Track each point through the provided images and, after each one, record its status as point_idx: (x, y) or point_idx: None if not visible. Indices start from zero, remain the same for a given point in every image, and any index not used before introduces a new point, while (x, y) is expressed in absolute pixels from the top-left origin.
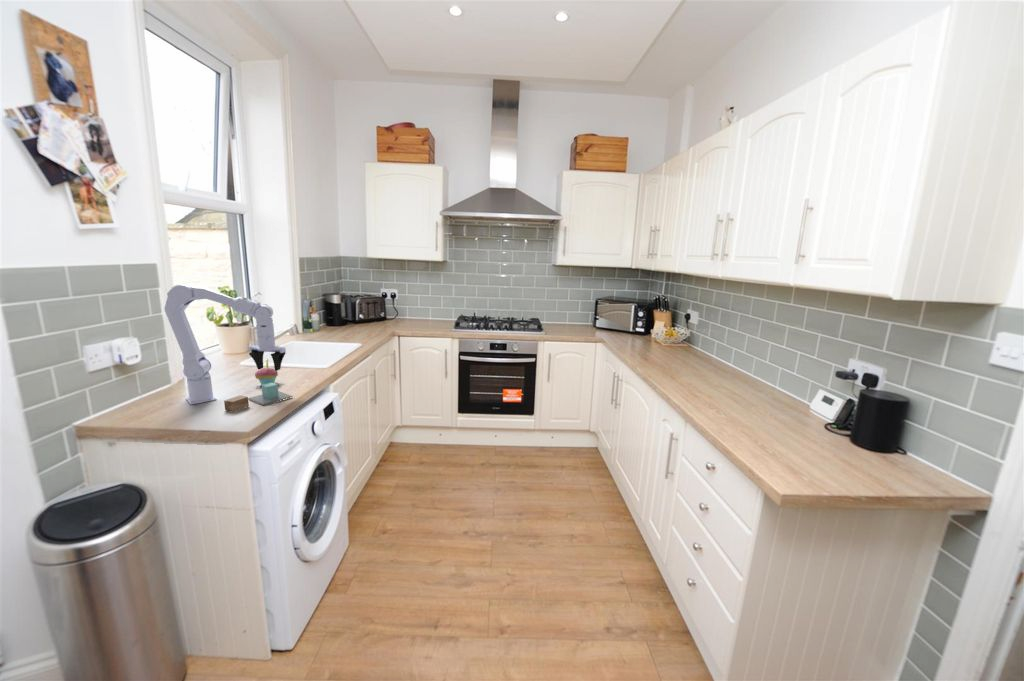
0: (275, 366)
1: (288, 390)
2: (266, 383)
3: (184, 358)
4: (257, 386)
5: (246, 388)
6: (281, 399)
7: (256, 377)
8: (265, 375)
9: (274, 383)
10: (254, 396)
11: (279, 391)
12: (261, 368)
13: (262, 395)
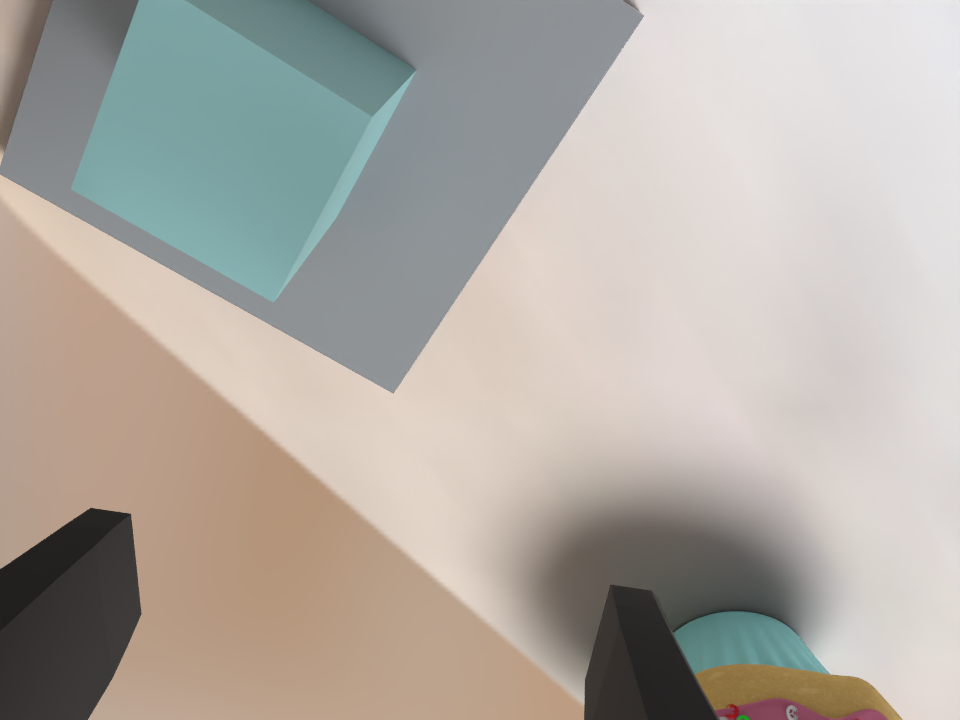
0: (12, 571)
1: (315, 466)
2: (715, 634)
3: None
4: (828, 591)
5: (946, 517)
6: (54, 9)
7: (867, 690)
8: (720, 716)
9: (180, 246)
10: (581, 101)
11: (342, 362)
12: (596, 646)
13: (480, 165)
